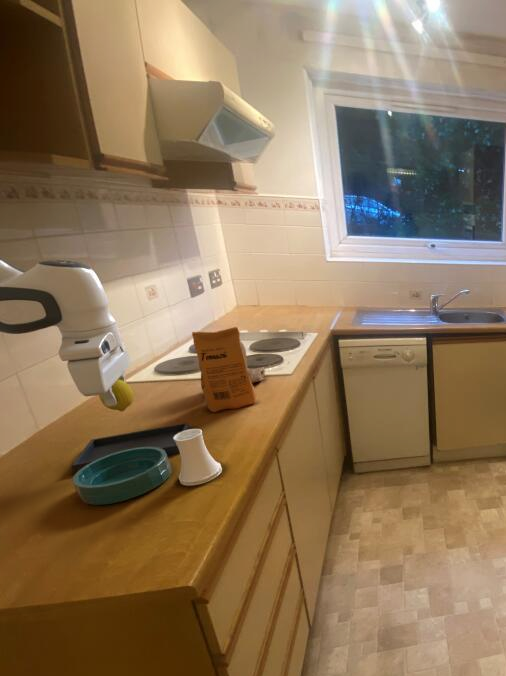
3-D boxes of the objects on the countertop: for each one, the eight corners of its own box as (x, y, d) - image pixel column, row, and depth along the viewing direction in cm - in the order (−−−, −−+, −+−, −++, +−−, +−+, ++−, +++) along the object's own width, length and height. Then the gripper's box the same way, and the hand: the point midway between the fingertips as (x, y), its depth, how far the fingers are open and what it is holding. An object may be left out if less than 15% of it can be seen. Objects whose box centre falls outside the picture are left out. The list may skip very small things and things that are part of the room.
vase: (221, 479, 91) (208, 437, 87) (177, 489, 88) (162, 447, 84) (222, 461, 97) (210, 422, 93) (182, 471, 94) (167, 431, 90)
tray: (74, 473, 93) (71, 465, 92) (94, 446, 103) (91, 439, 102) (182, 452, 101) (179, 444, 100) (190, 429, 111) (188, 422, 110)
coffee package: (209, 401, 126) (187, 328, 118) (257, 392, 132) (239, 322, 123) (205, 414, 118) (182, 337, 110) (257, 405, 124) (238, 331, 115)
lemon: (104, 418, 95) (90, 385, 92) (109, 409, 99) (95, 377, 96) (136, 412, 97) (124, 380, 94) (139, 403, 102) (127, 372, 99)
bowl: (69, 515, 81) (59, 495, 79) (96, 474, 93) (88, 456, 91) (164, 493, 87) (157, 475, 85) (178, 457, 99) (172, 440, 97)
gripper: (92, 329, 99) (114, 384, 104) (53, 356, 82) (82, 420, 87) (127, 325, 101) (146, 380, 107) (96, 351, 84) (122, 414, 90)
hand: (117, 398), depth 97 cm, fingers closed on lemon, 5 cm apart
